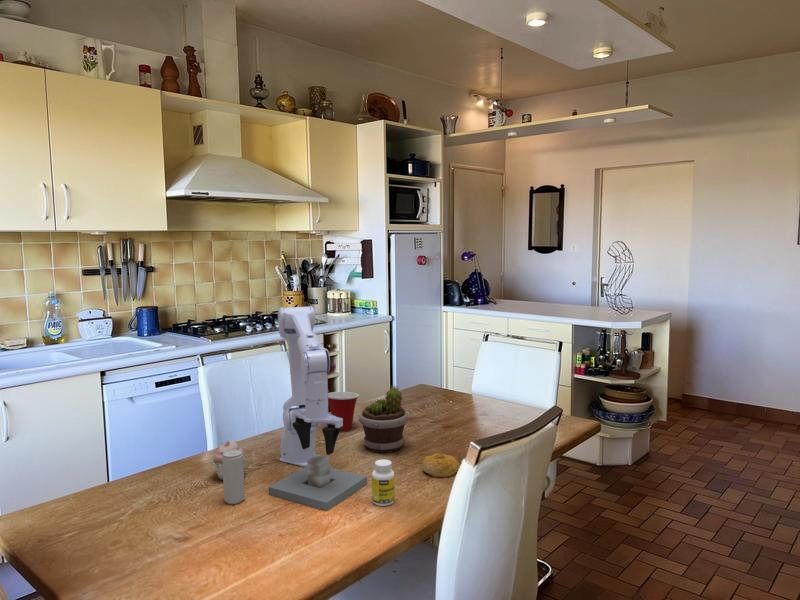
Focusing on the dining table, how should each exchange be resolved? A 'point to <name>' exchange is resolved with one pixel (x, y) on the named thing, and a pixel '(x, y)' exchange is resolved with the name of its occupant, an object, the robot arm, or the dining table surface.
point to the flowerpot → (384, 422)
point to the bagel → (440, 465)
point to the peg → (318, 471)
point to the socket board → (316, 497)
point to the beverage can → (233, 476)
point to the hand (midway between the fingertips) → (317, 450)
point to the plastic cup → (343, 407)
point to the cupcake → (218, 455)
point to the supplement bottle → (383, 483)
